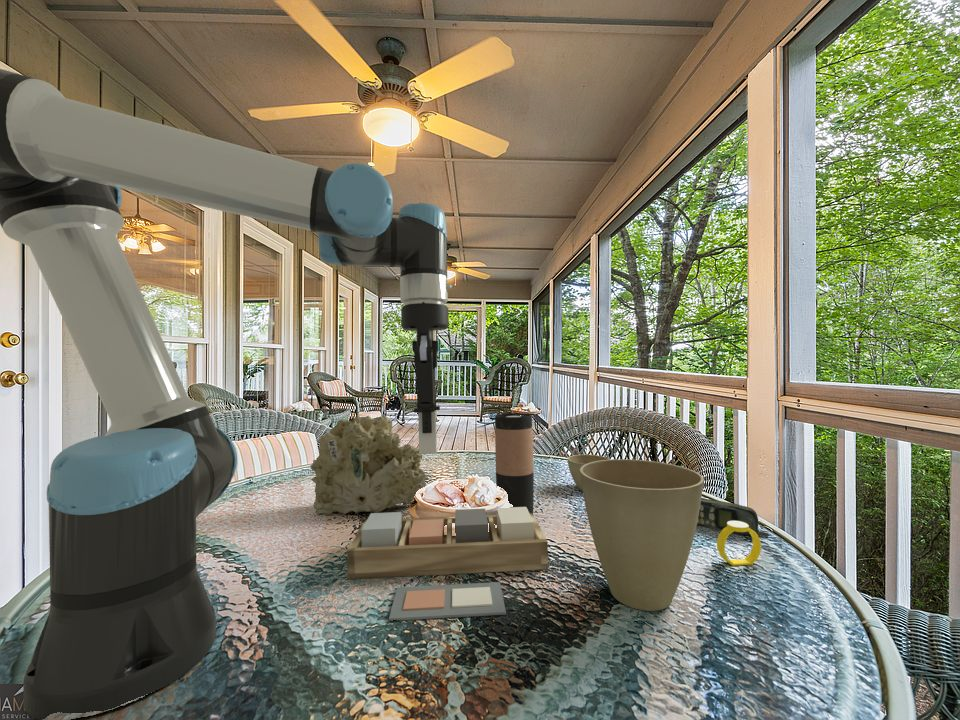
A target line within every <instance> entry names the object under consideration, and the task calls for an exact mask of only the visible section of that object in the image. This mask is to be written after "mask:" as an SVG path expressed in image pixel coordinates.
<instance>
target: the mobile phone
mask: <svg viewBox="0 0 960 720" xmlns="http://www.w3.org/2000/svg"><path fill="white" fill-rule="evenodd" d="M728 521H741V522H744V523H747V524H748V525H749V528H750V529H752V530H753V531H755V532H756V534H757V535H758V537H759V536H761V537H765V538H768V537H770V534H769V533H768V532H764V531H761V530H759V516H758V514H757V512H756V511H755V510H754V509H753V508H751V507H749V506H745V505H742V504H737V503H733V502H726V501H721V500H715V499H710V498H709V499H708V498H705V497H701V504H700V510H699V516H698V521H697V526H699V527H703V528H708V529H712V530H716V531H720V532H721V531H722V530H723V529H724V528H725V527H727V522H728ZM731 534H734V535H745V536H746V535H749V536H751V535H750V533H749V532H748V531H747V532H736V531H734V532H732V533H731Z"/></svg>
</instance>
